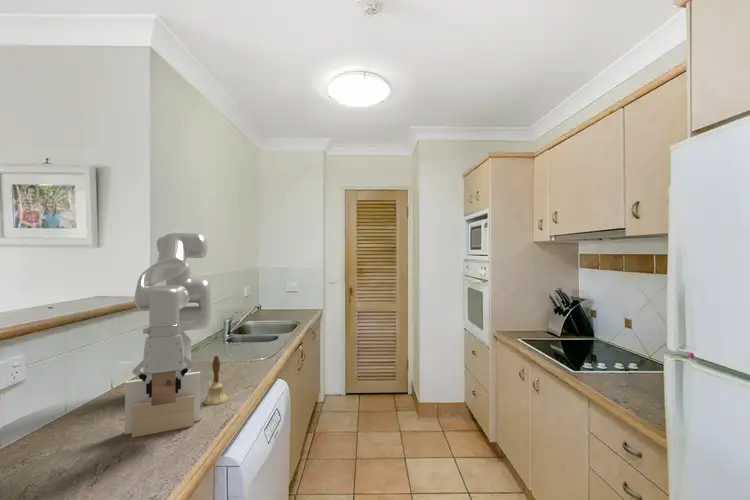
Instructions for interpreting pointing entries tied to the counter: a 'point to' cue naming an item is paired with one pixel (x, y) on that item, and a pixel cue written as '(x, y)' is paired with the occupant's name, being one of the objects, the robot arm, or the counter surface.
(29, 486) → the counter surface
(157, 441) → the counter surface
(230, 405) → the counter surface
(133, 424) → the wall board
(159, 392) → the wall box
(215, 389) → the hand bell
